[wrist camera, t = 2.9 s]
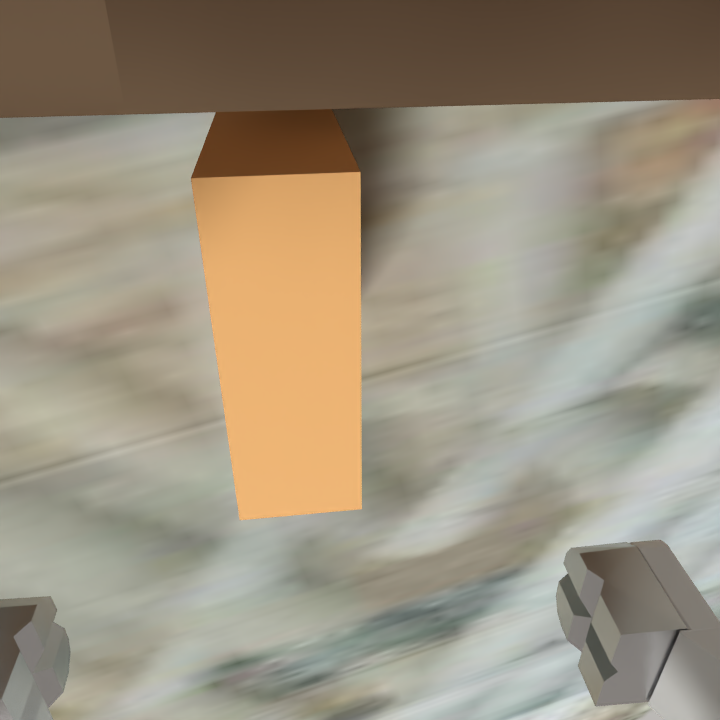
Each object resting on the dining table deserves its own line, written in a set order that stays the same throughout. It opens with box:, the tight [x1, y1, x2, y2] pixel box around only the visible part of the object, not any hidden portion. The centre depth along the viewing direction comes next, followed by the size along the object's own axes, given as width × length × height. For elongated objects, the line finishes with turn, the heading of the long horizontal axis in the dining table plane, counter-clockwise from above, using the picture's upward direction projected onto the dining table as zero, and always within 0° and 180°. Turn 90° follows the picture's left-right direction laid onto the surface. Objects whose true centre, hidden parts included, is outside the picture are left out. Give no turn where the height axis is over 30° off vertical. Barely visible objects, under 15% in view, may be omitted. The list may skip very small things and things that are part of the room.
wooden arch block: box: [191, 109, 362, 520], centre depth 20 cm, size 10×4×10 cm, turn 0°
